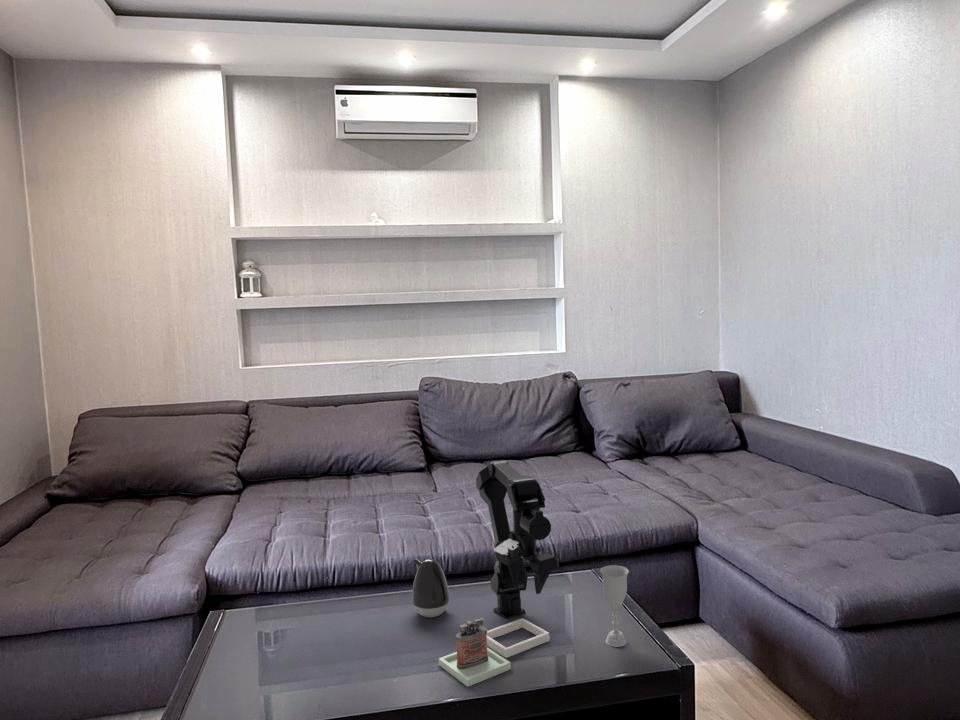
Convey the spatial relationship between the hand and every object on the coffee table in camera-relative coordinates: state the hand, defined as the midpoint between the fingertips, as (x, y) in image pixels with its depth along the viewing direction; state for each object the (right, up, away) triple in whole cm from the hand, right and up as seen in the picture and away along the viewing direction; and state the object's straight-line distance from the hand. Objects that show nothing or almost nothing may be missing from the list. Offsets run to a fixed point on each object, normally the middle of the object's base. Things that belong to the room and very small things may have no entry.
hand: (526, 587), depth 178 cm
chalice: (+22, -12, -5) cm, 25 cm away
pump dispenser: (-25, -12, +15) cm, 32 cm away
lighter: (-13, -13, -14) cm, 23 cm away
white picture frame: (-3, -12, -3) cm, 13 cm away
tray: (-13, -14, -14) cm, 24 cm away
